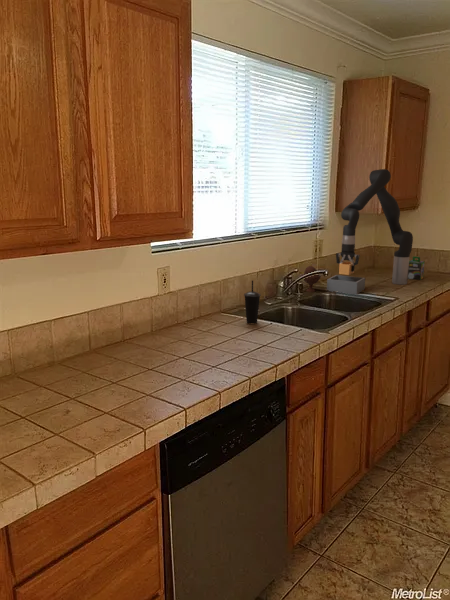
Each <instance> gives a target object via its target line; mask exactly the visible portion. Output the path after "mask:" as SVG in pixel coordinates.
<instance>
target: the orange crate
mask: <svg viewBox="0 0 450 600" xmlns="http://www.w3.org/2000/svg"><path fill="white" fill-rule="evenodd" d="M354 263H355V261H354ZM338 266H339V268H338V269H339V270H338V271H339V272H338V275H343V276H351V275H352V274H354V273H355V270H354V271H353V272H351V266H352V264H351V262H350V261H344V262H343V263H340V264H339V265H338Z"/></svg>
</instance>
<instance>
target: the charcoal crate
mask: <svg viewBox="0 0 450 600" xmlns="http://www.w3.org/2000/svg"><path fill="white" fill-rule="evenodd" d="M365 286H366V277H359V276H353V275H343V274H335V275H333V276H331V277H329V278H327V279H326V291H327V290H329V291H328V292H333V291H338V292H337V293H341V292H343V294H348V295H349V294H350V295H358V294H359V293H361V292H363V291H364V290H366V289H365V288H366V287H365ZM362 290H363V291H362Z"/></svg>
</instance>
